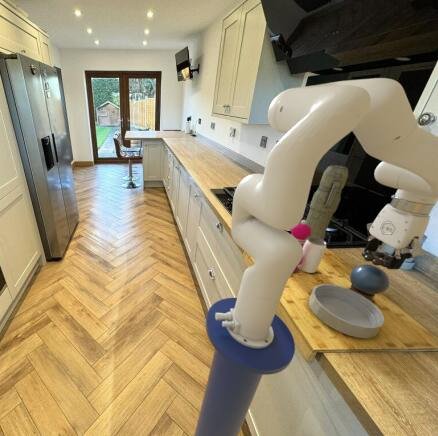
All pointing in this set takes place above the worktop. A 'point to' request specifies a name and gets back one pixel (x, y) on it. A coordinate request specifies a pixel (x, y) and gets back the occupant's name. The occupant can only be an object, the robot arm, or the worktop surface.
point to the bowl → (346, 310)
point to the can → (312, 254)
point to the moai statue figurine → (326, 200)
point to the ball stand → (368, 281)
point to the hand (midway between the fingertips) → (380, 259)
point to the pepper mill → (301, 235)
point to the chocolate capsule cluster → (377, 257)
